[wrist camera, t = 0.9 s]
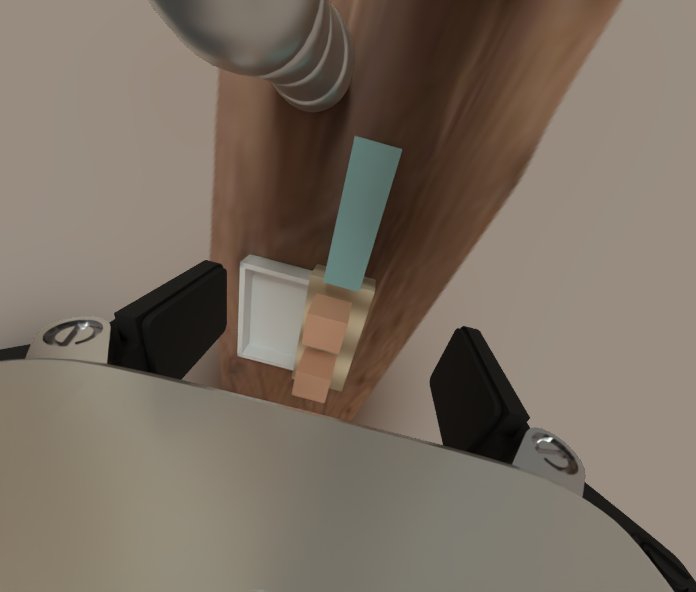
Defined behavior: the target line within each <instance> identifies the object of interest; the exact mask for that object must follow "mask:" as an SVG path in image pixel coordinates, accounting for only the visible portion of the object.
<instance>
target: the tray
mask: <svg viewBox="0 0 696 592" xmlns="http://www.w3.org/2000/svg"><path fill="white" fill-rule="evenodd" d="M311 273H312V270H308V269H304V268H301V267H297V266H293V265H289V264H286V263H282V262H278V261H275V260H271V259H267V258H263V257H260V256H256V255H252V254H250V255H248V256H247V257H246V258H245V259H243V260H242V261H241V262H240V283H239V316H238V349H237V356H239V357H243V358H247V359H251V360H255V361H259V362H262V363H266V364H270V365H274V366H278V367H281V368H285V369H289V370H293V368H294V362H295V357H296V351H297V346H298V341H299V335H300V330H301V324H302V319H303V313H304V308H305V302H306V297H307V291H308V286H309V281H310V275H311Z"/></svg>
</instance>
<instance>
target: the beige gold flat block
mask: <svg viewBox="0 0 696 592" xmlns="http://www.w3.org/2000/svg"><path fill="white" fill-rule="evenodd" d="M326 267H327V266H323V265H320V264H316V266H315V268H314V270H313V271H312V273H311V275H310V281H309V286H308V291H307V297H306V302H305V308H304V313H303V319H302V324H301V330H300V335H299V341H298V346H297V351H296V357H295V362H294V368H293V373H292V379H295V374H296V370H297V368H298V365H299V363H300V360H301V358H302V355H303V352H304V350H305V348H309V349H313V350H316V351H320V352H324V353H328V354H332V355H335V356H337V357H336V361H335V366H334V370H333V374H332V379H331V383H330V386H329V389H333V390H337V391H341V392H342V389H343V386H344V383H345V380H346V377H347V374H348V371H349V368H350V365H351V362H352V359H353V356H354V353H355V350H356V347H357V344H358V341H359V338H360V335H361V332H362V329H363V327H364V324H365V321H366V318H367V315H368V312H369V309H370V306H371V303H372V300H373V297H374V294H375V285H376V280H375V279H372V278H368V277H364V278H363V281H362V284H361V288H360V291H359V292H357V291H354V290H350V289H346V288H343V287H339V286H335V285H331V284H328V283H324V282H323V280H324V276H325V271H326ZM316 293H318V294H322V295H326V296H329V297H333V298H337V299H340V300H344V301H348V302H352V306H351V311H350V316H349V321H348V325H347V329H346V332H345V335H344V339H343V342H342V345H341V349H340V352H339V354H336V353H332V352H329V351H325V350H321V349H317V348H313V347H310V346H306V345H302V344H301V343H302V338H303V333H304V328H305V322H306V317H307V313H308V310H309V308H310V306H311V304H312V302H313V300H314V298H315V295H316Z"/></svg>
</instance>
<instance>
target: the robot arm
mask: <svg viewBox="0 0 696 592" xmlns="http://www.w3.org/2000/svg"><path fill="white" fill-rule="evenodd" d="M114 315H115V319H114V320H113V321H111V322H108V321H106V320H105V319H102V318H99V317H91V316H84V317H75V318H68V319H64V320H61V321H57V322H55V323H52V324H50V325H48V326H46V327H44V328H43V329H41V330H40V331H39V332H38V333H37V334H36V335H35V337H34V338H33V341H32V343H31V344H29V345H24V346H18V347H13V348H7V349H1V350H0V592H696V581H695V580H694V579H693V577H692V576H691V575H690V573H689V572H688V571H687V569H686V568H685V566H684V565H683V564H682V563H681V562H680V560H679V559H678V558H677V557H676V556H675V555H674V554H673V553H671V552H670V551H669V550H668V549H666V548H665V547H664V546H663V545H662V544H661V543H659V542H658V541H657V540H656V539H655V538H653V537H652V536H651V535H650V534H648V533H647V532H646V531H645V530H643V529H642V528H641V527H640V526H639V525H637V524H636V523H635V522H634V521H632V520H631V519H630V518H629V517H627V516H626V515H625V514H624V513H622V512H621V511H620V510H619V509H617V508H616V507H615V506H613V505H612V504H611V503H610V502H609V501H608V500H606V499H605V498H604V497H603V496H601V495H600V494H599V493H598V492H596V491H595V490H594V489H593V488H591V487H590V486H589V485H588V484H586V483H585V469H584V466H583V464H582V462H581V460H580V459H579V457H578V456H577V455H576V453H575V452H574V451H573V450H572V449H571V448H570V447H569V446H568V445H567V444H566V443H565V442H564V441H562V440H561V439H560V438H558V437H557V436H555V435H554V434H552V433H550V432H548V431H546V430H543V429H540V428H530V427H529V425H528V424H527V421H528V420H529V418H530V417H529V415H528V414H527V412H526V410H525V408H524V407H523V405H522V403H521V402H520V400H519V398H518V396H517V395H516V393H515V391H514V389H513V388H512V386H511V384H510V382H509V381H508V379H507V378H506V376H505V374H504V372H503V370H502V369H501V367H500V365H499V364H498V362H497V360H496V358H495V357H494V355H493V353H492V351H491V350H490V348H489V346H488V344H487V343H486V341H485V339H484V338H483V336H482V334H481V332H480V331H479V330H477V329H473V328H469V327H465V326H463V327H461V328H460V329H459V328H458V329H456V330H455V332H454V334H453V336H452V337H451V340H450V341H449V343H448V345H447V347H446V349H445V351H444V353H443V354H442V356H441V358H440V360H439V362H438V364H437V366H436V367H435V369H434V371H433V373H432V375H431V378H430V388H431V392H432V397H433V401H434V405H435V410H436V415H437V419H438V424H439V428H440V433H441V437H442V442H443V445H439V444H436V443H432V442H428V441H424V440H420V439H416V438H412V437H408V436H405V435H401V434H397V433H393V432H388V431H385V430H381V429H377V428H373V427H369V426H365V425H362V424H357V423H354V422H350V421H346V420H342V419H338V418H334V417H330V416H326V415H322V414H318V413H314V412H310V411H306V410H302V409H298V408H294V407H289V406H285V405H281V404H277V403H273V402H269V401H265V400H261V399H257V398H253V397H249V396H245V395H241V394H237V393H232V392H228V391H224V390H220V389H216V388H212V387H208V386H204V385H199V384H196V383H191V382H187V381H183V380H181V379H182V378H183V377H184V376H185V374H187V373H188V371H189V370H190V369H191V368H192V367H193V366H194V365H195V364H196V363H197V361H198V360H199V359H200V358H201V357H202V356H203V355H204V354H205V352H206V351H207V350H208V349H209V348H210V347H211V346H212V345H213V344H214V343H215V341H216V340H217V339H218V338H219V337H220V336H221V335H222V334H223V332H224V331H225V329H226V325H227V271H226V269H224V268H223V266H222V264H219V263H215V262H212V261H208V260H205V261H203V262H201V263H199V264H198V265H196V266H194V267H192V268H191V269H189V270H187V271H186V272H184V273H182V274H180V275H179V276H177V277H175V278H174V279H172V280H170V281H168V282H167V283H165V284H163V285H162V286H160V287H158V288H157V289H155V290H153V291H151V292H150V293H148V294H146V295H144V296H143V297H141V298H139V299H138V300H136V301H134V302H132V303H131V304H129V305H127V306H126V307H124V308H122V309H120V310H119V311H117V312H115V313H114Z"/></svg>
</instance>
